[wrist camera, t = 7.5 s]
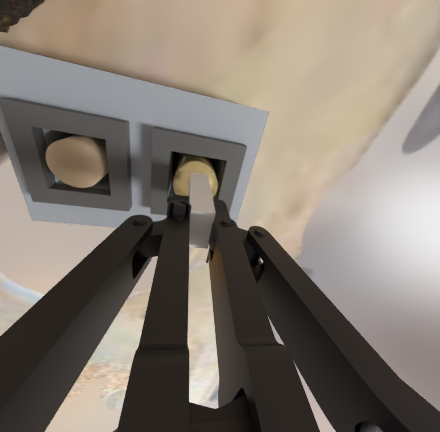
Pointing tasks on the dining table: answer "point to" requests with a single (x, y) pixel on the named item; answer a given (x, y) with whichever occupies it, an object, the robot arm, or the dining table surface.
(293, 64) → the dining table surface
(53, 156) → the beech peg
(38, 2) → the candle
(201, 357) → the dining table surface
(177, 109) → the socket block
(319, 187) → the dining table surface
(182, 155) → the brass peg
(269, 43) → the dining table surface
